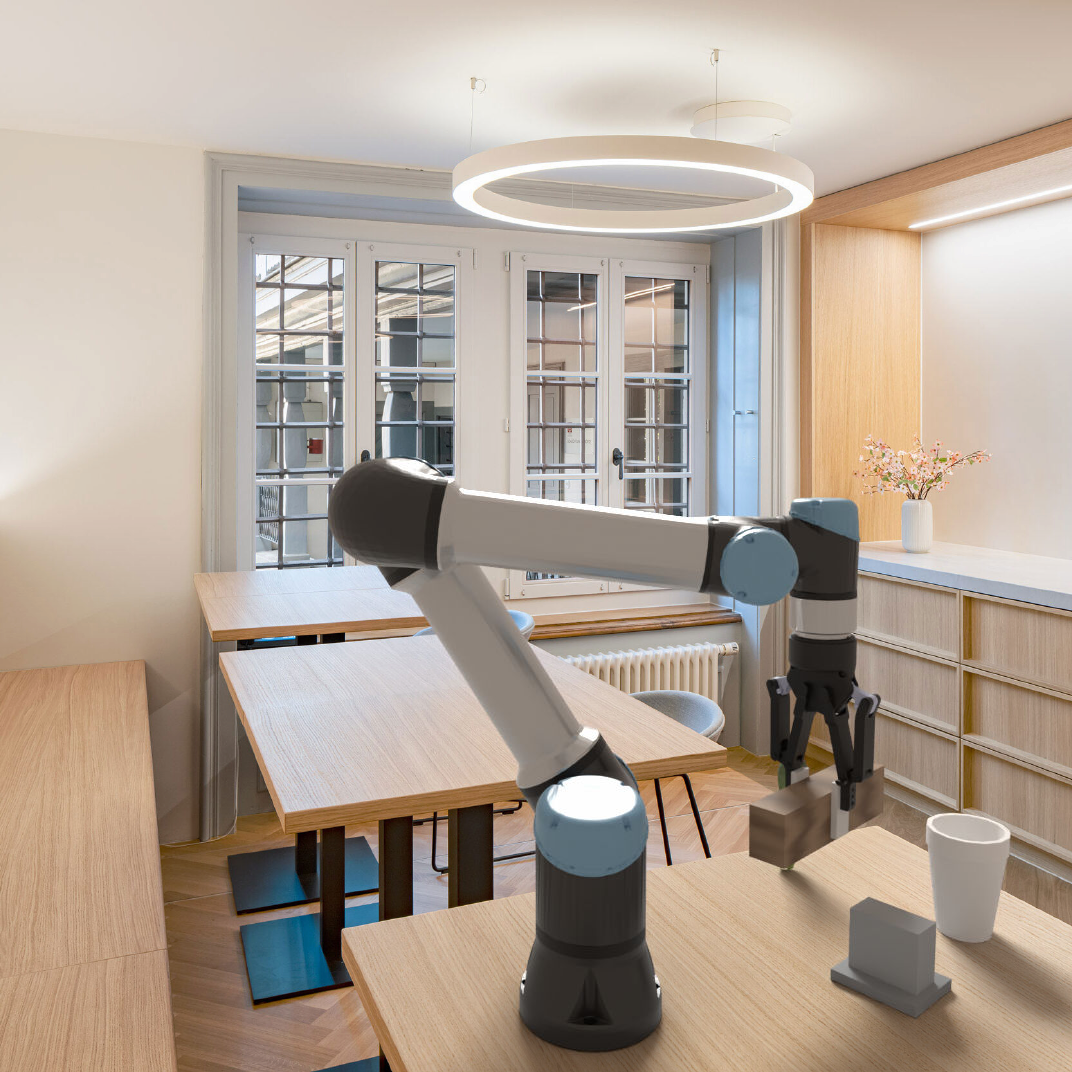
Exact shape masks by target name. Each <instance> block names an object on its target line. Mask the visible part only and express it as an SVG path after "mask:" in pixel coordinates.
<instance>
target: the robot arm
mask: <svg viewBox="0 0 1072 1072" xmlns="http://www.w3.org/2000/svg"><path fill="white" fill-rule="evenodd" d="M789 508H790V510H789V511H788V514H785V515H784V514H783V515H777V516H748V515H747V516H746V515H745V516H744V515H742V516H741V515H740V516H737V515H734V516H733V515H731V516H730V515H728V516H727V515H723V516H722V515H717V514H712V515H711V516H710V515H709V516H696V517H695V516H694V517H687V516H678V515H677V516H676V515H671V514H670V515H668V514H662V513H655V512H647V511H646V512H644V511H637V510H631V509H630V510H629V509H624V508H623V509H621V508H613V507H606V506H598V505H596V506H595V505H590V504H580V503H573V502H565V501H558V500H549V499H543V498H532V497H526V496H525V497H524V496H516V495H510V494H501V493H494V492H493V493H492V492H485V491H478V490H468V489H464V488H463V487H462V486H461V485H460V483H459V482H458V481H457V479H456V478H453V477H446V476H445V475H444V474H443V472H442V471H440V470H439V469H438V468H436V466H435V465H432V464H431V463H429V462H428V461H426V460H424V459H421V458H419V457H414V456H410V455H401V454H400V455H392V456H386V457H382V458H373V459H368V460H363V461H361V462H358V463H357V464H354V465H353V466H352V467H350V468H349V469H348V470H347V471H345V472H344V473H343V474H341V476H340V477H339V478H338V480H337V481H336V482H335V484H334V486H333V488H332V490H331V492H330V495H329V498H328V505H327V521H328V526H329V529H330V531H331V534H332V536H333V538H334V540H335V542H336V543H337V545H338V546H339V547H340V548H341V549H342V550H343V552H345V553H346V554H347V555H349V556H350V557H351V558H353V559H355V560H356V561H358V562H360V563H362V564H363V563H364V564H366V565H371V566H375V567H377V569H378V570H379V572H380V573H381V576H383V578H384V580H385V581H386V582H387V584H388V586H389V588H390V589H391V590H393V591H397V592H401V593H406V594H407V595H410V596H411V597H412V599H413V600H414V602H415V604H416V605H417V607H418V608H419V610H420V611H421V613H422V615H423V616H424V617H425V619H426V621H427V622H428V624H429V625H430V627H431V628H432V629H431V630H433V631H434V633H435V635H436V636H437V638H438V639H439V641H440V643H441V644H442V647H443V648H444V649H445V651H446V653H447V654H448V655H449V657H450V659H451V660H452V662H453V663H454V665H455V667H456V668H457V670H458V671H459V673H460V674H461V676H462V677H463V679H464V681H465V683H466V684H467V685H468V687H469V688H470V691H472V693H473V695H474V696H475V697H476V699H477V701H478V702H479V704H480V706H481V707H482V708H483V710H484V711H485V713H486V715H487V716H488V718H489V720H490V721H491V723H492V724H493V726H494V728H495V729H496V731H497V732H498V734H499V735H500V737H501V738H502V740H503V741H504V744H505V745H506V746H507V748H508V749H509V751H510V752H511V754H512V755H513V757H514V759H515V760H516V762H517V764H518V769H517V775H516V778H515V784H516V786H517V788H518V789H519V791H520V792H521V795H523V796H524V797H523V798H525V800H526V801H527V803H528V805H529V806H530V808H531V809H532V811H533V813H534V817H533V822H532V823H533V825H532V827H533V836H534V839H535V863H534V864H535V937H534V941H533V944H532V947H531V950H530V953H529V956H528V960H527V964H526V970H525V971H524V973H523V975H522V976H521V980H520V983H519V988H518V990H519V991H518V992H519V994H518V996H519V1000H518V1001H519V1005H518V1006H519V1013H520V1017H521V1019H522V1021H523V1023H524V1024H525V1025H526V1027H527V1028H528V1029H529V1030H530V1031H531V1032H532V1033H534V1034H535V1035H536V1036H537V1037H539V1038H541V1039H543V1040H545V1041H547V1042H548V1043H551V1044H553V1045H557V1046H559V1047H563V1048H566V1049H571V1050H577V1051H578V1050H579V1051H584V1052H585V1051H587V1052H598V1051H600V1052H601V1051H613V1050H615V1049H616V1050H617V1049H622V1048H625V1047H628V1046H631V1045H634V1044H636V1043H638V1042H640V1041H643V1040H644V1039H645V1038H647V1037H648V1036H649V1035H651V1034H653V1032H654V1031H655V1030H656V1029H657V1027H658V1025H659V1024H660V1021H661V1019H662V1014H663V1008H662V1007H663V991H662V987H661V986H662V985H661V983H660V981H659V978H658V976H657V974H656V971H655V965H654V962H653V958H652V954H651V952H650V949H649V945H648V943H647V937H646V936H647V935H646V934H647V929H646V928H647V926H646V925H647V923H646V921H647V842H648V839H649V830H650V829H649V827H650V826H649V819H648V816H647V808H646V805H645V802H644V800H643V798H642V796H641V792H640V790H639V784H638V781H637V779H636V776H635V774H634V772H633V771H632V770H631V768H630V767H629V766H628V764H627V763H626V762H625V761H624V760H623V759H622V758H621V757H620V756H619V755H618V754H616V753H614V751H612V749H611V748H610V746H609V744H608V743H607V742H606V740H605V738H604V736H603V735H602V734H601V732H600V730H599V729H598V728H597V727H592V726H587V725H583V724H581V723H579V721H578V720H577V718H576V717H575V715H574V713H573V712H572V710H571V708H570V707H569V706H568V704H567V702H566V700H565V699H564V697H563V696H562V695H561V692H560V691H559V690H558V688H557V686H556V684H555V683H554V681H553V680H552V678H551V676H550V675H549V674H548V671H546V669H545V667H544V665H543V664H542V663H541V660H540V659H539V658H538V657H537V654H536V653H535V651H534V650H533V649H532V647H531V645H530V644H529V642H528V641H527V639H526V637H525V635H524V634H523V632H522V631H521V629H520V628H519V626H518V625H517V623H516V621H515V620H514V618H513V617H512V615H511V614H510V612H509V610H508V609H507V608H506V605H505V604H504V602H503V600H502V599H501V598H500V596H499V595H498V593H497V592H496V590H495V589H494V586H493V585H492V584H491V582H490V581H489V579H488V578H487V575H486V574H485V573H484V571H483V569H482V568H481V567H486V568H487V567H488V568H497V569H505V570H511V571H512V570H513V571H521V572H529V573H538V574H545V575H553V576H554V575H555V576H563V577H571V578H576V579H577V578H578V579H585V580H595V581H603V582H604V581H605V582H611V583H619V584H626V585H627V584H628V585H634V586H635V585H637V586H646V587H652V588H659V589H660V588H661V589H668V590H677V591H685V592H693V593H700V594H705V595H710V596H720V597H726V598H733V599H734V600H736V601H738V602H740V603H742V604H744V605H750V606H757V607H763V606H770V605H773V604H775V603H778V602H779V601H781V600H783V599H784V598H785V597H787V595H788V594H789V596H788V597H789V599H788V601H789V602H788V603H789V605H788V627H789V629H790V630H792V632H791V633H790V634H788V655H787V656H788V657H787V658H788V663H789V664H790V665H789V669H788V672H787V673H786V675H785V676H783V675H779V676H775V677H772V678H769V679H767V680H766V681H765V686H766V689H767V691H768V696H769V700H770V701H769V703H770V705H769V709H770V712H769V714H770V716H769V717H770V719H769V720H770V723H769V725H770V726H769V730H770V731H769V732H770V733H769V735H770V736H769V739H770V741H769V744H770V745H769V746H770V747H769V753H770V754H769V756H770V759H771V760H772V761H774V762H779V764H780V763H782V764H783V765H784V767H785V781H786V782H785V787H787V786H789V785H792V784H794V783H796V782H799V781H801V780H803V779H805V778H807V777H809V776H810V767H808V766H807V767H804V766H803V767H801V765H802V764H804V763H806V762H807V760H805V756H806V752H807V748H808V743H809V741H810V740H809V739H810V735H811V730H812V726H813V724H814V719H815V715H817V713H819V714H821V715H823V719H824V724H825V725H827V729H828V731H829V733H828V734H829V739H830V743H831V748H832V755H833V758H834V759H833V760H834V764H835V765H836V771H837V776H838V780H836V781H834V782H832V783H831V836H830V838H832V839H836V840H835V841H837V840H838V839H840V838H842V837H844V836H846V835H847V834H849V832H848V826H849V811H850V810H852V809H854V807H855V805H856V783H861V782H863V781H865V780H867V779H869V778H871V777H872V776H873V768H874V763H875V761H874V760H875V737H876V735H875V734H876V713H877V711H878V710H879V707H880V704H881V701H882V697H881V696H880V695H879V694H878V693H873V694H870V693H869V692H866V691H865V690H864V689H862V688H860V687H859V683H858V680H857V677H856V667H857V656H858V653H857V651H858V649H857V648H858V639H857V637H856V636H855V635H854V634H853V633H855V631H857V630H858V599H859V598H858V580H859V579H858V578H859V559H860V558H859V553H860V542H861V537H860V523H859V521H860V520H859V518H860V517H859V508H858V506H857V504H856V503H855V502H854V501H853V500H851V499H850V498H849V499H848V498H844V497H798V498H795V499H793V500H792V501H791V503H790V507H789ZM791 691H792V693H793V695H794V697H795V698H796V699H795V703H794V708H793V712H792V714H793V716H794V717H793V721H792V725H791V696H790V693H791ZM852 699H854V705H853V708H854V710H856V711H855V715H854V726H853V727H854V730H853V734H854V735H853V738H852V735H851V729H850V723H849V719H850V711H849V705H848V704H849V703H850V702H851V700H852ZM852 739H853V740H852ZM806 764H807V763H806Z"/></svg>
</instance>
